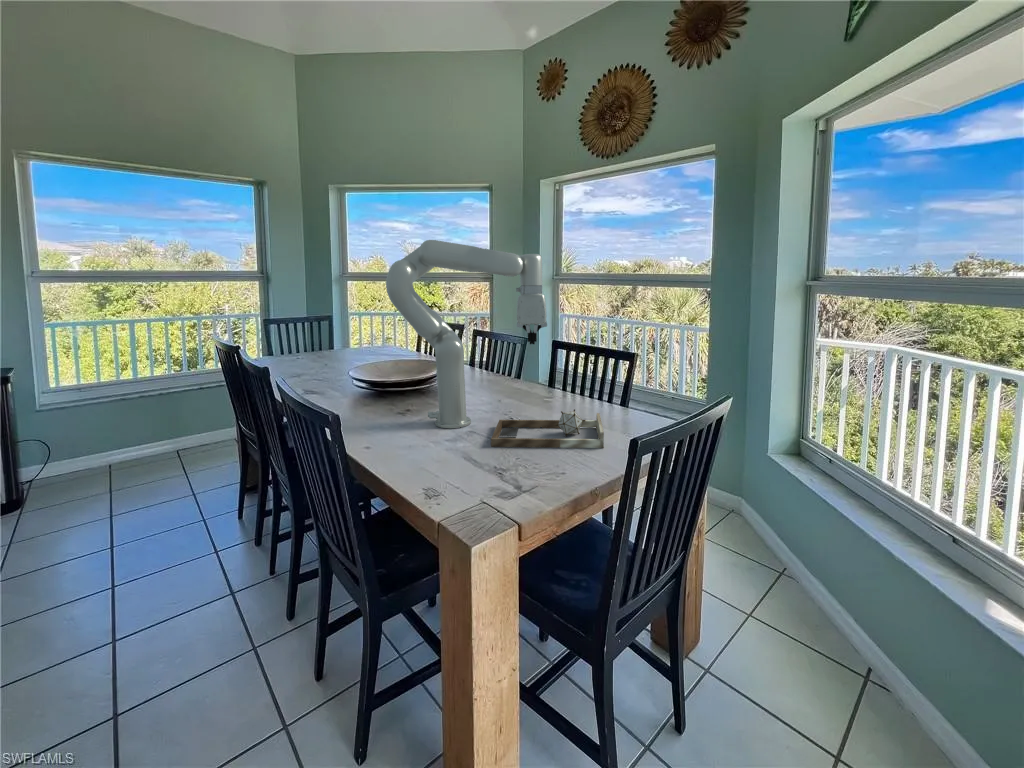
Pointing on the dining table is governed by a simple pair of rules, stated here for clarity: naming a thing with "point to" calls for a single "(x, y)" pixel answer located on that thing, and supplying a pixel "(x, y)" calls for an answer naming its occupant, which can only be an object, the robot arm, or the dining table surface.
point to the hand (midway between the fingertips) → (532, 343)
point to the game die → (570, 422)
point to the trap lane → (510, 441)
